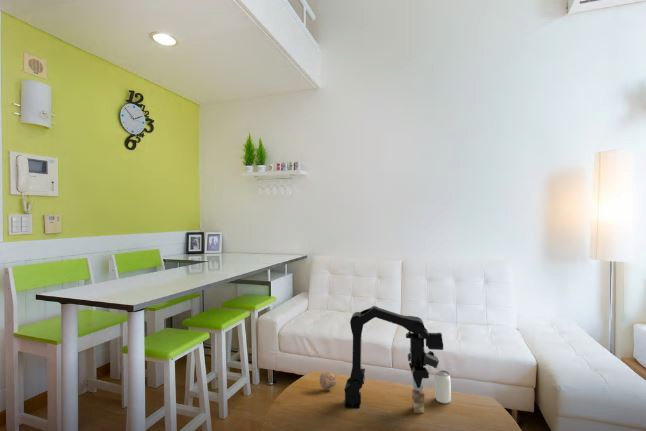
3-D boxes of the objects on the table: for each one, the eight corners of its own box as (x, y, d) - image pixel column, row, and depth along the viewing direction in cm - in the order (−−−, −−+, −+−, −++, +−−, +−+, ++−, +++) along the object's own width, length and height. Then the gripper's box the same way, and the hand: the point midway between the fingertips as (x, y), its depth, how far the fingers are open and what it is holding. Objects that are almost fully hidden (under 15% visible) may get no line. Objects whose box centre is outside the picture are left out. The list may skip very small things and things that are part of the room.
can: (452, 404, 148) (451, 377, 148) (436, 403, 149) (435, 375, 149) (449, 396, 154) (449, 370, 154) (434, 395, 155) (434, 369, 155)
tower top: (415, 403, 142) (414, 393, 142) (412, 398, 146) (412, 388, 146) (424, 403, 142) (424, 393, 142) (421, 398, 146) (421, 388, 146)
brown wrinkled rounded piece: (336, 387, 165) (336, 370, 165) (335, 393, 158) (335, 376, 158) (320, 386, 165) (320, 370, 165) (319, 393, 159) (319, 376, 159)
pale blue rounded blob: (413, 389, 142) (413, 380, 142) (412, 384, 146) (412, 375, 146) (423, 390, 142) (423, 380, 142) (422, 385, 146) (421, 376, 146)
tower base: (414, 412, 142) (414, 402, 142) (413, 407, 146) (412, 397, 146) (424, 413, 142) (424, 403, 142) (422, 407, 146) (422, 398, 146)
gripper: (441, 358, 134) (442, 397, 134) (432, 340, 152) (433, 375, 152) (412, 357, 135) (413, 396, 135) (407, 340, 154) (407, 374, 154)
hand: (417, 385), depth 144 cm, fingers closed on pale blue rounded blob, 4 cm apart
